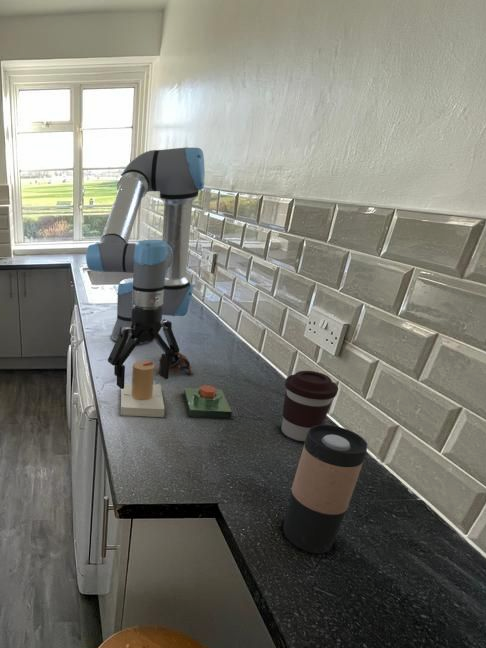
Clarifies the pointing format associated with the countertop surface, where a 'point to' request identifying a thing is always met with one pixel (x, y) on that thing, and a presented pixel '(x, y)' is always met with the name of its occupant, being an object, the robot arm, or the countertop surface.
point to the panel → (142, 403)
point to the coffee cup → (306, 402)
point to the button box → (206, 404)
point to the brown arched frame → (178, 363)
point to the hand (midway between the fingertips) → (142, 382)
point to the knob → (142, 380)
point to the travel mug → (323, 486)
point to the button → (207, 391)
